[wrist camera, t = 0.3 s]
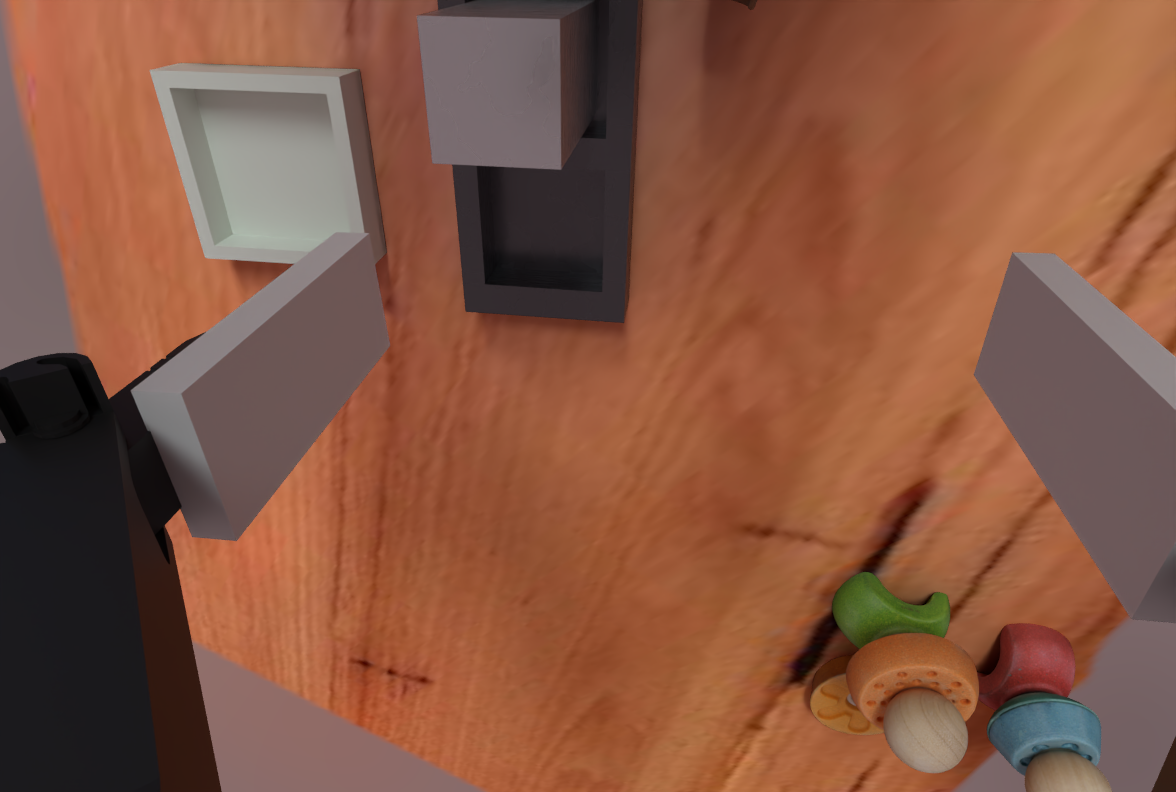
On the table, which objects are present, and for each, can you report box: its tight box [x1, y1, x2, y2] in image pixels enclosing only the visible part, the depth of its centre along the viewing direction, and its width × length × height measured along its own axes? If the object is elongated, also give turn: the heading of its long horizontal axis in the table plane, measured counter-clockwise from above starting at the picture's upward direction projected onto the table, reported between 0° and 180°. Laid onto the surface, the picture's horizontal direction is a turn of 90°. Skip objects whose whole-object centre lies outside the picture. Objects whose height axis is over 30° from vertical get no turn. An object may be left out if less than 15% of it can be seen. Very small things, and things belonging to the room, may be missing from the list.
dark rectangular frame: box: [438, 0, 643, 323], centre depth 36 cm, size 18×9×3 cm, turn 179°
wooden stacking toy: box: [810, 572, 1112, 792], centre depth 49 cm, size 18×17×12 cm
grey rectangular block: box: [417, 0, 599, 170], centre depth 30 cm, size 5×5×11 cm
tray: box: [150, 63, 387, 264], centre depth 39 cm, size 10×10×2 cm
